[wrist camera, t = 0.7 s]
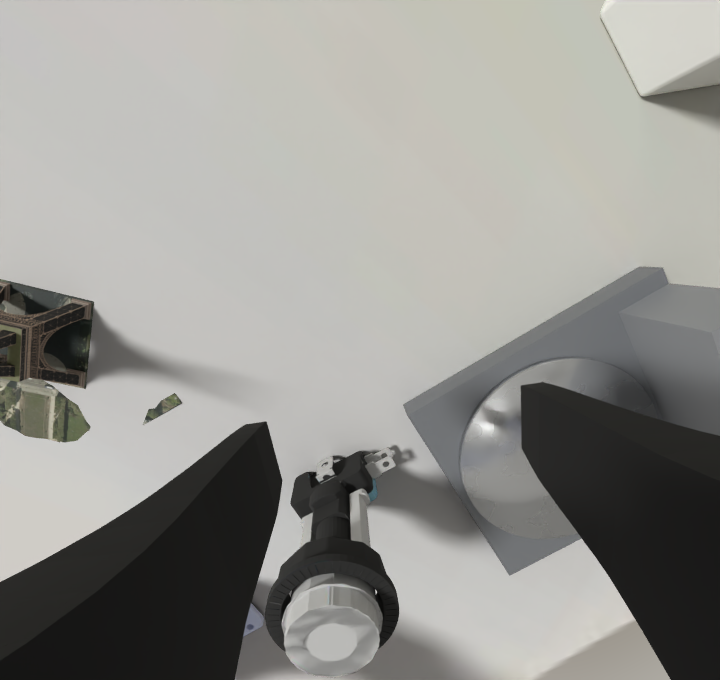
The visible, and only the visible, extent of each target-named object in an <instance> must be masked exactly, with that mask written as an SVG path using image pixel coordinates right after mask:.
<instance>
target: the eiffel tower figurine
mask: <svg viewBox="0 0 720 680" xmlns="http://www.w3.org/2000/svg"><path fill="white" fill-rule="evenodd" d="M93 306H94V302H93V301H89V300H85V299H81V298H77V297H72V296H68V295H64V294H60V293H56V292H52V291H48V290H43V289H39V288H35V287H31V286H27V285H23V284H18V283H14V282H10V281H6V280H2V279H0V421H1V422H2V423H3V424H4V425H5V426H8V427H10V428H12V429H15V430H17V431H18V432H20V433H22V434H23V435H25V436H29V437H34V438H44V439H49V440H53V441H57V442H60V441H61V442H70V441H76V440H78V439H79V438H80V437H81V436H82V435H84V434H85V433H86V432H87V431H89V429H90V425H89V424H88V423H87V422H86V420H85V418H84V416H83V414H82V413H81V411H80V409H79V407H78V405H76V404H75V403H73V402H72V401H70V400H69V399H68V398H66V397H65V396H64V395H63V394H62V393H60V392H59V391H58V390H57V389H55V388H54V387H53V386H52V385H50V384H48V383H46V382H45V381H50V382H55V383H60V384H65V385H69V386H74V387H79V388H84V389H86V379H87V369H88V358H89V348H90V337H91V327H92V316H93ZM43 380H45V381H43ZM179 404H181V402H180V400H179V399H178V397H177V396H176V394H175V393H174V394H172V395H171V396H169V397H167V398H165V399H164V400H162V401H161V402H160V403H159V404H158V406H157V407H156V408H155V409H149V410H148V413H147V415H146V418H145V421H144V423H143V425H144V424H146V423H148V422H149V421H151V420H153V419H154V418H156V417H158V416H160V415H161V414H163V413H165V412H167V411H168V410H170V409H172V408H174V407H175V406H177V405H179Z"/></svg>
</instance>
